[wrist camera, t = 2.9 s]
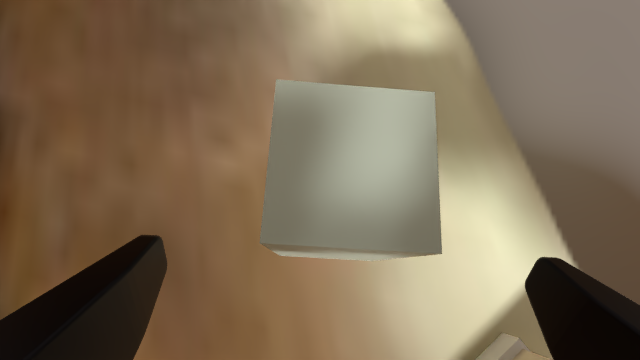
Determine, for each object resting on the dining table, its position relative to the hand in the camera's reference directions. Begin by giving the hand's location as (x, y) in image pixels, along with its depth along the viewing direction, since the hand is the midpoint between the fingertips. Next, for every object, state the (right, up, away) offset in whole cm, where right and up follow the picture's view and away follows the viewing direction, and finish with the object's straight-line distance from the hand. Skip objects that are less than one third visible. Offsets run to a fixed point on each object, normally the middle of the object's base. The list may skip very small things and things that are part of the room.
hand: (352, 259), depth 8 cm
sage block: (0, 0, +10) cm, 10 cm away
